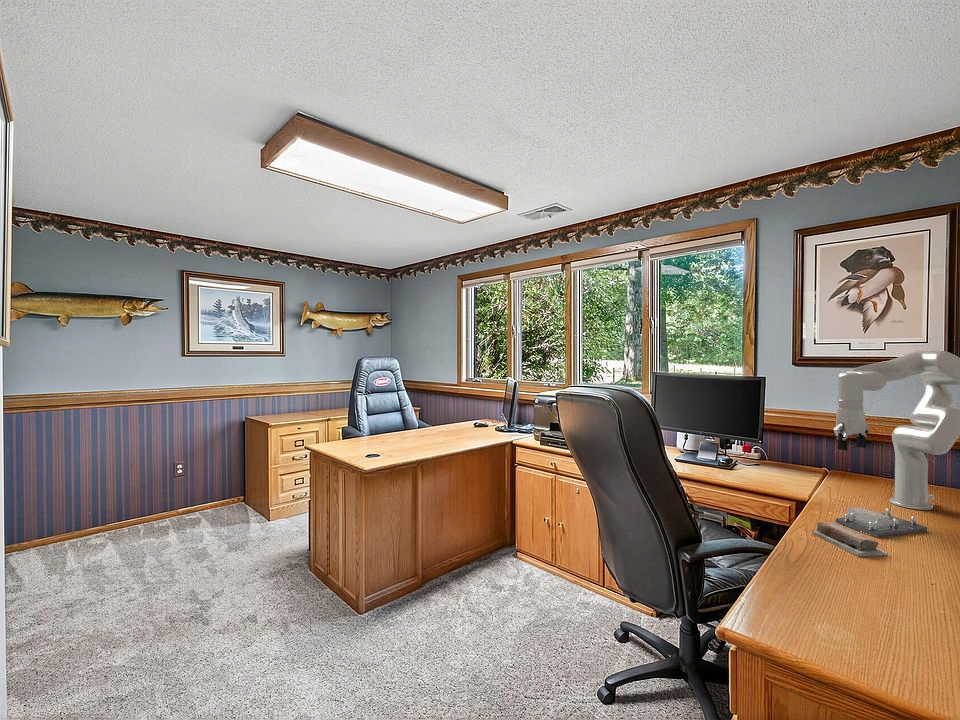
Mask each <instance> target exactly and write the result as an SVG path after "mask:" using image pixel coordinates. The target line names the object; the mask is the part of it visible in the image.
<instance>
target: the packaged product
mask: <svg viewBox="0 0 960 720" xmlns="http://www.w3.org/2000/svg"><path fill="white" fill-rule="evenodd" d="M816 526H817V527H816V529H812V530H811V533H812V534H811V535H815V537H816V536H817V537H818V538H820V539H822V540H824V541H825V542H828V543H829V544H832V545H833V544H834V545H833V546H835V545H836V546H835V547H837V546H838V548H839V549H842V550H843V551H846V552H847V553H850V554H851V555H852V556H853V555H854V556H855V557H879V556H880V557H881V556H882V555H887V556H889V552H887V551H884V550H883V549H881V548H878V545H879V542H878V541H876V540H874V539H872V538H870V537H868V536H866V535H864V534H862V533H860V532H859V531H856V530H854V529H852V528H849V527H846V526H843V525H841V524H838V523H836V522H835V521H832V520H831V521H818V522H817V523H816Z"/></svg>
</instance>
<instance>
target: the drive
mask: <svg viewBox="0 0 960 720" xmlns="http://www.w3.org/2000/svg"><path fill="white" fill-rule="evenodd" d="M846 510H847V512H846V514H849V520H850V521H853V522H856V523H859V524H862V525H865V526H868V527H869V522H873V523H874V529H876V530H882V529H889V528H890V516H887V515H883V514H880V513H881V512H877V511H873V510H870V509H867V508H864V507H860V506H856V507H854V506H853V507H848V508H847V509H846Z"/></svg>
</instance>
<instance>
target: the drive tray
mask: <svg viewBox="0 0 960 720" xmlns="http://www.w3.org/2000/svg"><path fill="white" fill-rule="evenodd" d="M879 513H880V514H883V515H887V516H890V528H889V529H882V530H876V529H874V523H873V522H869V527H868V526H865V525H862V524H859V523H856V522H853V521H850V520H849V514H847V513H844V517H837V518H835V519H834V520H835V521H834V522H836V523H838V524H840V525H844V526H845V527H846V526H847V528H849V529H851V530H854V529H855V530H854V531H857V530H858V531H857V532H860V531H862V532H861V533H863V532H864V533H863V534H865V533H867V534H866V535H868V534H870V535H869V536H871V535H872V536H871V537H873V536H875V537H874V538H876V537H877V539H880V538H879V537H881V538H887V536H889V537H895V536H894V535H896V536H901V535H900V534H904V535H910V533H911V534H916V533H917V534H918V532H919V533H925V532H928V526H924V525H922V524H918V523H917V517H916V516H913V515H912V516H911V517H910V518H911V521H908V520H905V519H903V518H900V517H896V516H894V515H891V514H892V513H891V508H886V509H885V513H884V512H879Z"/></svg>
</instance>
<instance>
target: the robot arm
mask: <svg viewBox="0 0 960 720" xmlns="http://www.w3.org/2000/svg"><path fill="white" fill-rule="evenodd" d="M917 375H920V379H921V381H922V384H923V389H924V393H923V395H922V396H921V398H920V400H919V401H918V402H917V404H916V405H915V407H914V409H913V410H912V411H911V414H910V416H909V420H910V423H911V424H912V425H907V424H906V425H899V426H897V427H895V428H894V429H893V431H892V433H891V440H892V444H893V448H894V497H890V498H889V502H890V503H891V504H893V505H895V506H898V507H902V508H906V509H911V510H912V509H913V510H919V511H929V510H931V511H932V510H933V509H934V505H933V504H932V503H930V502H929V500H930V501H931V500H935V498H936V497H935V495H934V494H928V488H929V487H928V486H929V485H928V482H929V477H928V475H929V471H928V470H929V464H928V463H929V461H928V459H927V457H926V455H925V454H931V455H937V456H940V455H945V454H947V453H948V452H949V451H950V450H951V448H952V447H953V446H954V444H955V442H956V441H957V440H958V439H959V438H960V409H959V408H957V407H954V406H953V407H952V406H951V405H952V403H953V396H952V394H951V391H950V390H949V389H948V387H947V386H960V357H959V356H957V355H956V354H953V353H952V352H948V351H945V350H917V351H913V352H909V353H906V354H904V355H902V356H899V357H896V358H893V359H890V360H886V361H880V362H874V363H869V364H864V365H860V366H857V367H854V368H852V369H849V370H848V371H846V372H841V373H839V374H838V376H837V391H838V392H837V393H838V408H837V411H836V417H835V427H834V428H833V432H834V436H835V437H836V440H837V449H838V450H840V451H841V450H842V451H848V449H849V447H848V440H847V439H848V436H851V435H856V438H855V442H856V443H855V444H856V445H855V446H856V447H858V448H864V449H865V448H867V438H868V433H869V428H870V425H869V424H868V423H866V414H865V404H864V402H865V401H864V391H869V392H877V391H881V390H883V389H885V387H886V386H887V385H888V382H896V381H898V382H899V381H903V380H906V379H909V378H911V377H914V376H917ZM946 385H947V386H946Z"/></svg>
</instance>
